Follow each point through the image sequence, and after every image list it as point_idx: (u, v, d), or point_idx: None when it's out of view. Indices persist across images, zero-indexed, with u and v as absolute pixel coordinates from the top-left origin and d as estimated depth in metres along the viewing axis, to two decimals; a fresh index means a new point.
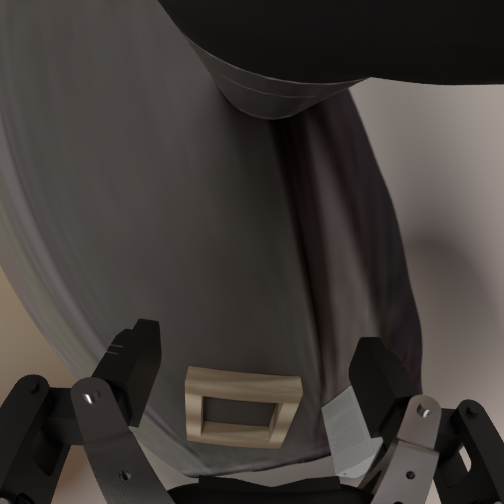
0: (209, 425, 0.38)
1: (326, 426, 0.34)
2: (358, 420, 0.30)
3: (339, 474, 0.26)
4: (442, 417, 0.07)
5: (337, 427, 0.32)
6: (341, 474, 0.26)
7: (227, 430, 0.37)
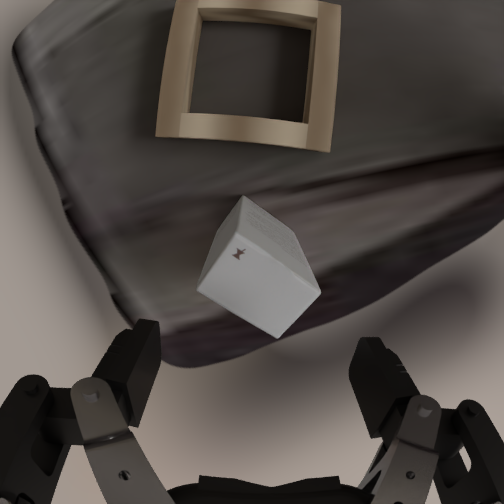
0: (199, 27, 0.20)
1: (244, 203, 0.23)
2: (298, 249, 0.21)
3: (239, 240, 0.15)
4: (442, 417, 0.07)
5: (261, 219, 0.22)
6: (236, 246, 0.15)
7: (194, 50, 0.20)
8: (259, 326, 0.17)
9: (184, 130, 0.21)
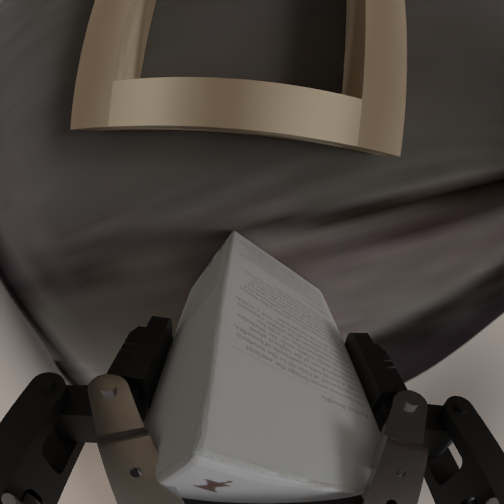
0: None
1: (234, 259, 0.11)
2: (342, 355, 0.10)
3: (211, 467, 0.04)
4: (429, 413, 0.07)
5: (270, 298, 0.10)
6: (204, 477, 0.04)
7: None
8: None
9: (117, 113, 0.10)
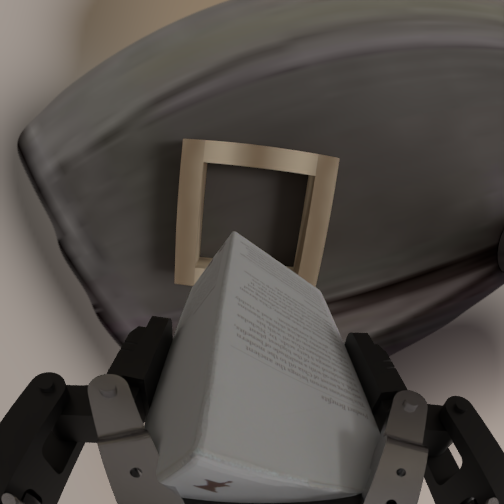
0: (205, 172, 0.27)
1: (234, 260, 0.11)
2: (342, 355, 0.10)
3: (211, 467, 0.04)
4: (429, 413, 0.07)
5: (270, 299, 0.10)
6: (204, 477, 0.04)
7: (202, 201, 0.28)
8: None
9: None
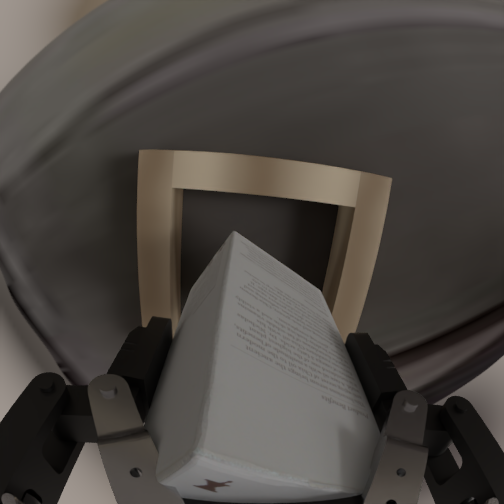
0: (180, 201, 0.17)
1: (234, 259, 0.11)
2: (342, 355, 0.10)
3: (211, 467, 0.04)
4: (429, 413, 0.07)
5: (270, 298, 0.10)
6: (204, 476, 0.04)
7: (176, 245, 0.18)
8: None
9: None
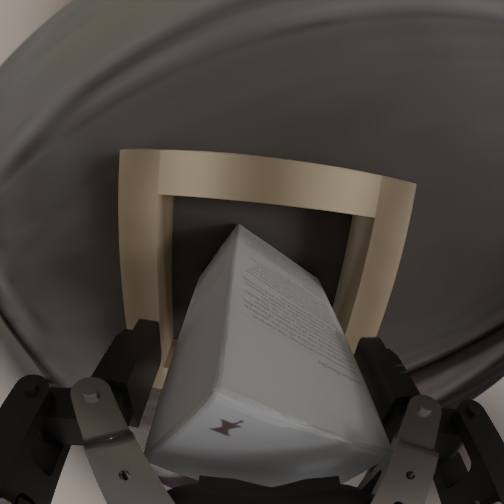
0: (169, 208, 0.15)
1: (240, 247, 0.12)
2: (337, 332, 0.11)
3: (227, 404, 0.05)
4: (442, 417, 0.07)
5: (272, 281, 0.12)
6: (220, 416, 0.05)
7: (166, 260, 0.15)
8: None
9: None
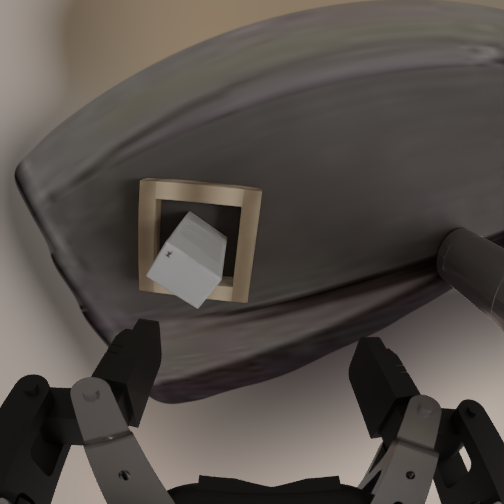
0: (159, 204, 0.34)
1: (185, 219, 0.32)
2: (219, 250, 0.31)
3: (168, 246, 0.25)
4: (442, 417, 0.07)
5: (195, 230, 0.31)
6: (167, 249, 0.25)
7: (157, 226, 0.35)
8: (185, 300, 0.26)
9: (156, 288, 0.36)
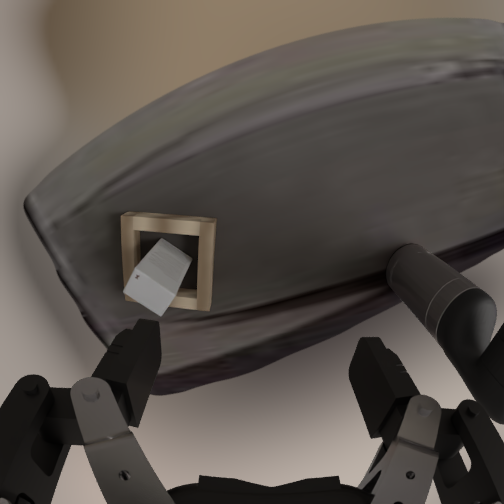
0: (138, 233, 0.43)
1: (156, 246, 0.40)
2: (181, 271, 0.39)
3: (136, 271, 0.33)
4: (442, 417, 0.07)
5: (162, 255, 0.39)
6: (136, 273, 0.33)
7: (137, 250, 0.43)
8: (151, 310, 0.35)
9: None
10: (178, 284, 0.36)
